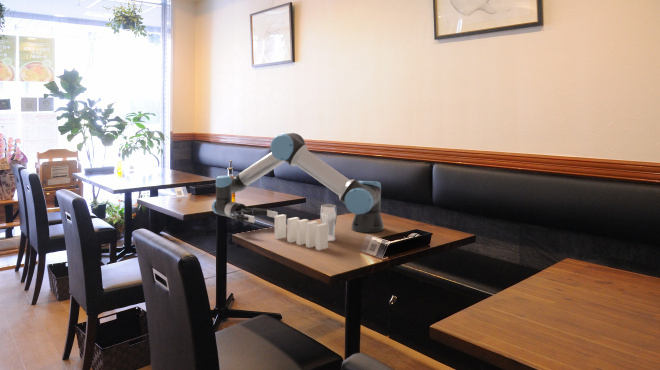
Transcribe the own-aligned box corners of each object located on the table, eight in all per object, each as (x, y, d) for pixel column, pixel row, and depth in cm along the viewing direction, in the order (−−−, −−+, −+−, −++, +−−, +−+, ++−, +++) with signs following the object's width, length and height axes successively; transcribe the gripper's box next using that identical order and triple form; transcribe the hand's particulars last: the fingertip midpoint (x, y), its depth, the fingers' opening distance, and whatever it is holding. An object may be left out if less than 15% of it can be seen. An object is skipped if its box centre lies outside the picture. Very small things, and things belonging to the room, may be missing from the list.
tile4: (305, 246, 199) (305, 222, 198) (314, 244, 203) (314, 221, 201) (309, 247, 198) (309, 223, 196) (317, 245, 201) (317, 221, 200)
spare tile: (274, 238, 212) (274, 216, 210) (283, 236, 215) (283, 214, 214) (277, 239, 210) (277, 216, 209) (286, 237, 214) (286, 214, 213)
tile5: (315, 249, 195) (315, 225, 194) (324, 246, 199) (324, 223, 198) (319, 250, 194) (319, 225, 193) (327, 247, 198) (327, 223, 196)
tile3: (296, 244, 203) (296, 220, 201) (304, 242, 206) (304, 219, 205) (299, 245, 201) (299, 221, 200) (308, 242, 205) (308, 219, 204)
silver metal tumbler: (339, 239, 212) (339, 205, 210) (331, 242, 206) (331, 207, 204) (325, 236, 215) (326, 203, 213) (317, 240, 209) (317, 206, 207)
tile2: (287, 241, 206) (287, 218, 205) (295, 239, 210) (295, 217, 209) (290, 242, 205) (290, 219, 204) (299, 240, 209) (299, 217, 207)
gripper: (256, 214, 242) (286, 221, 228) (214, 222, 223) (243, 230, 209) (256, 199, 240) (286, 205, 227) (214, 206, 222) (243, 213, 208)
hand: (265, 217), depth 218 cm, fingers open, 13 cm apart
